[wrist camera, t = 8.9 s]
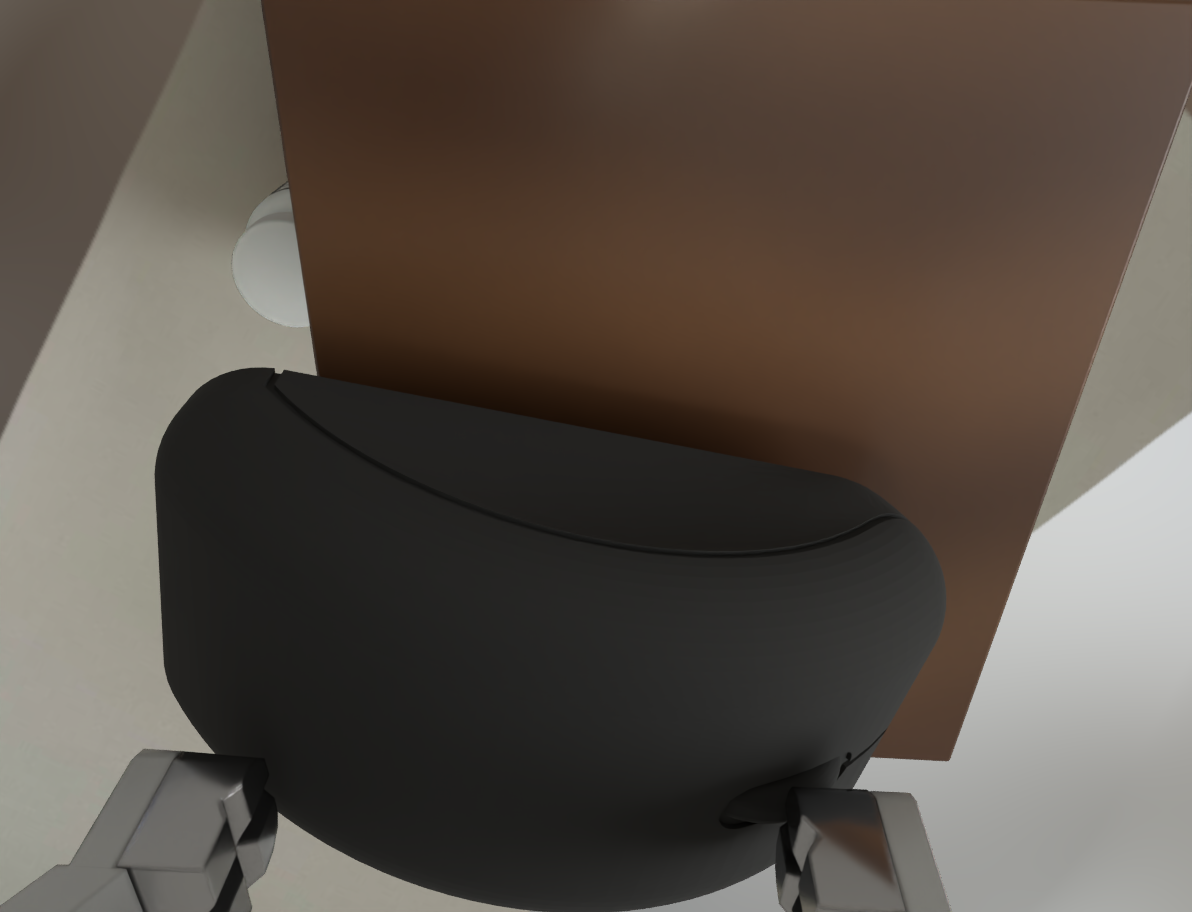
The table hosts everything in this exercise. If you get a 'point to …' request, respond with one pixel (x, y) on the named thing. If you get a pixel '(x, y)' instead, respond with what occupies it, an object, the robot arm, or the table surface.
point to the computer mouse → (526, 636)
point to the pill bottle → (271, 262)
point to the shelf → (745, 236)
